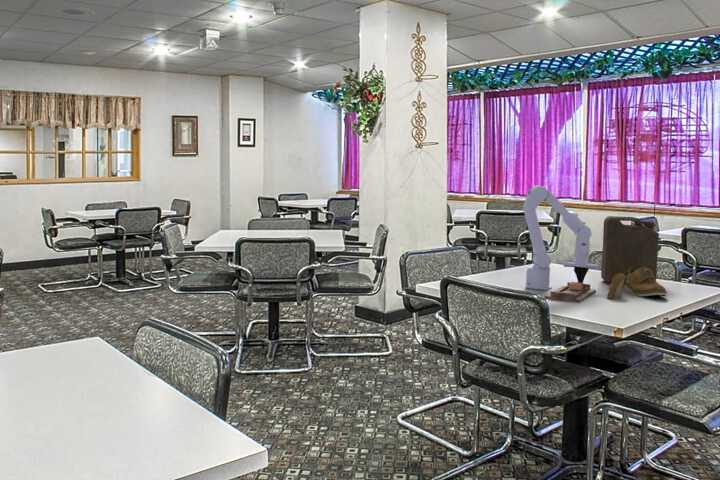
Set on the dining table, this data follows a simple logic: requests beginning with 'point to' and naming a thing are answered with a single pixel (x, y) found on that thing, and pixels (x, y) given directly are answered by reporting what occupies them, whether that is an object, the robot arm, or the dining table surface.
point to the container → (628, 247)
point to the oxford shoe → (643, 283)
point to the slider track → (571, 293)
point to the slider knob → (576, 285)
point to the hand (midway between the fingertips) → (580, 284)
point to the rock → (616, 286)
